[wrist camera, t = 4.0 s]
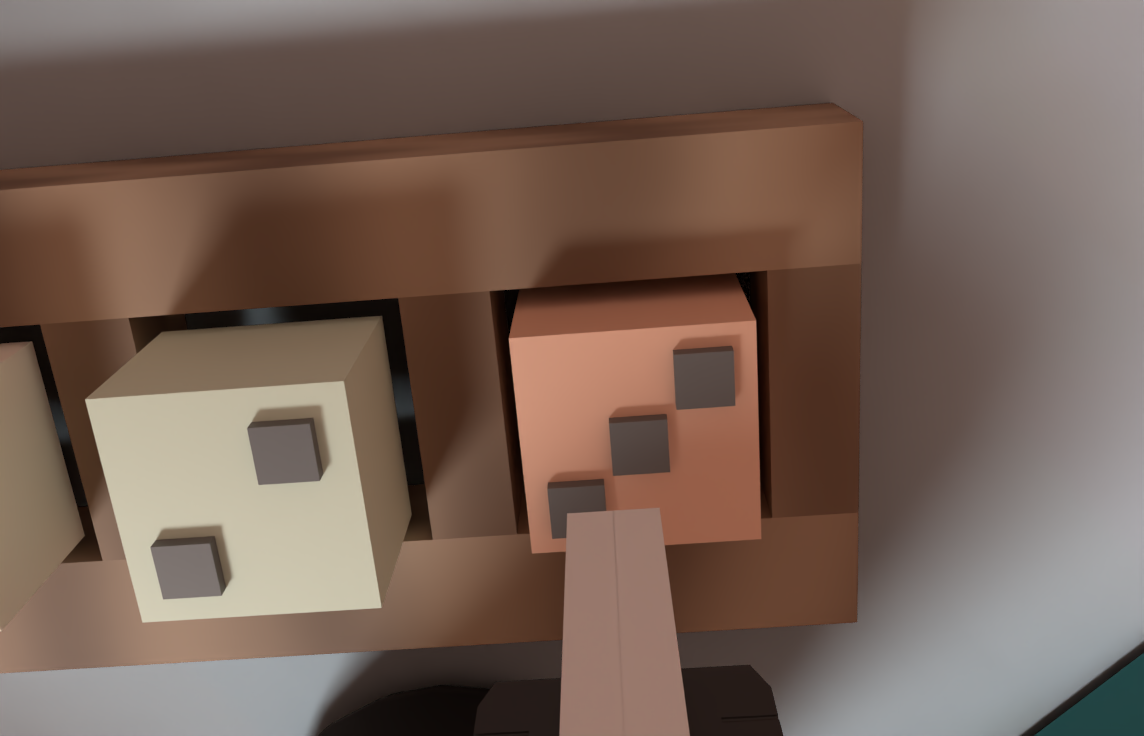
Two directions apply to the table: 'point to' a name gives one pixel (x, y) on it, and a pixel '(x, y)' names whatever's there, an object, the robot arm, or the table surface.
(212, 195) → the wooden dice tray
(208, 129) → the table surface
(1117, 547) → the table surface
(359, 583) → the die
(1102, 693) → the teal l-shaped bracket
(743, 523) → the die
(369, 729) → the coffee jar
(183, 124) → the table surface
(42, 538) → the die
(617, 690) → the robot arm
